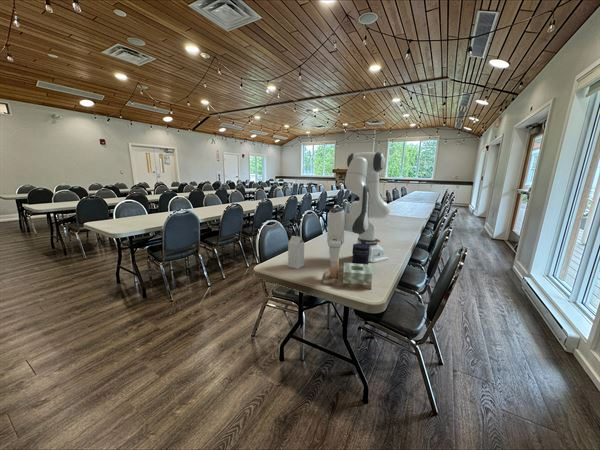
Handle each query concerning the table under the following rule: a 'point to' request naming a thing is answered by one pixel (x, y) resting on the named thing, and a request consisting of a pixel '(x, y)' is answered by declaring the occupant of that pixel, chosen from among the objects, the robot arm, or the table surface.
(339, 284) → the socket board
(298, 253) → the milk carton
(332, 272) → the peg
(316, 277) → the table surface
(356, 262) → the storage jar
